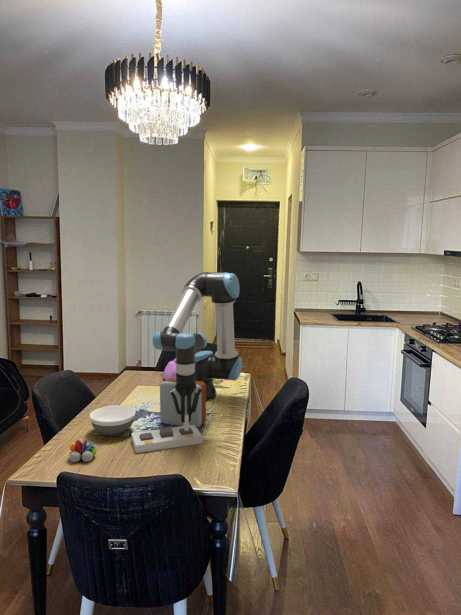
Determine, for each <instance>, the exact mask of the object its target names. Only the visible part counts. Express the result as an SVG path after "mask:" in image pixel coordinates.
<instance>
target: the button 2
mask: <svg viewBox="0 0 461 615" xmlns="http://www.w3.org/2000/svg"><path fill="white" fill-rule="evenodd" d="M180 433H181V435H187V434H193V431H192V429H191V428H190V427H189V431H185V430H184V429H183V428H181V429H180Z"/></svg>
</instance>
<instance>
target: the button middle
mask: <svg viewBox="0 0 461 615" xmlns="http://www.w3.org/2000/svg"><path fill="white" fill-rule="evenodd" d="M172 428H173V427H171V426H169V427H161V428H159V429H160V436H161V438H166V437H173V430H172Z"/></svg>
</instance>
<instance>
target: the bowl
mask: <svg viewBox="0 0 461 615" xmlns="http://www.w3.org/2000/svg"><path fill="white" fill-rule="evenodd" d="M136 413H137V411H136V410H135V409H134V408H133V407H131V406H128V405H119V404H117V405H115V404H113V405H106V406H102V407H99V408H96V409H94V410H92V411H91V412H90V413H89V419H90V421H91V426H92V427H93V428H94V430H95V431H97V432H98V433H100V434H102V435H104V436H107V435H109V436H108V437H115V436H114V435H116V436H119V434H120V435H121V434H123V433H124V432H126V431H127V430H129V429H130V427H131V426H132V425H133V423H134V421H135V415H136Z"/></svg>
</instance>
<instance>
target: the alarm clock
mask: <svg viewBox="0 0 461 615" xmlns="http://www.w3.org/2000/svg"><path fill="white" fill-rule="evenodd" d="M195 384H196V387H199V388H200V389H201V390H202V391H201V393H200V395H199V399H198V403H197V407H196V411H195V412H193V413H192V415H191V422H189V425H195V427H196V428H197V429H198V428H200V427H201V426H202V424H204V423H205V421H206V420H207V415H206V414H207V408H206V407H207V406H206V405H207V404H206V402H207V401H206V384H205V383H204V382H202V381H195ZM175 386H176V378H169V379H167V380H164V381H162V382H161V383H160V385H159V406H160V408H159V411H160V413H159V415H160V416H159V417H160V422H161V423H163V424H165V425H174V426H177V427H181V426H183V423H182V422H181V414H178V413H177V412H176V409H175V405H174V401H173V397H172V395H171V394H170V390H173V389H175ZM194 394H195V390H194V392H193V393H192V394H191V407H192V403H193V399H194ZM176 398H177V401H178V405H179V409H180V410H181V402H180V394H179V393H178V392H177V391H176ZM185 413H187V396H185Z"/></svg>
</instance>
